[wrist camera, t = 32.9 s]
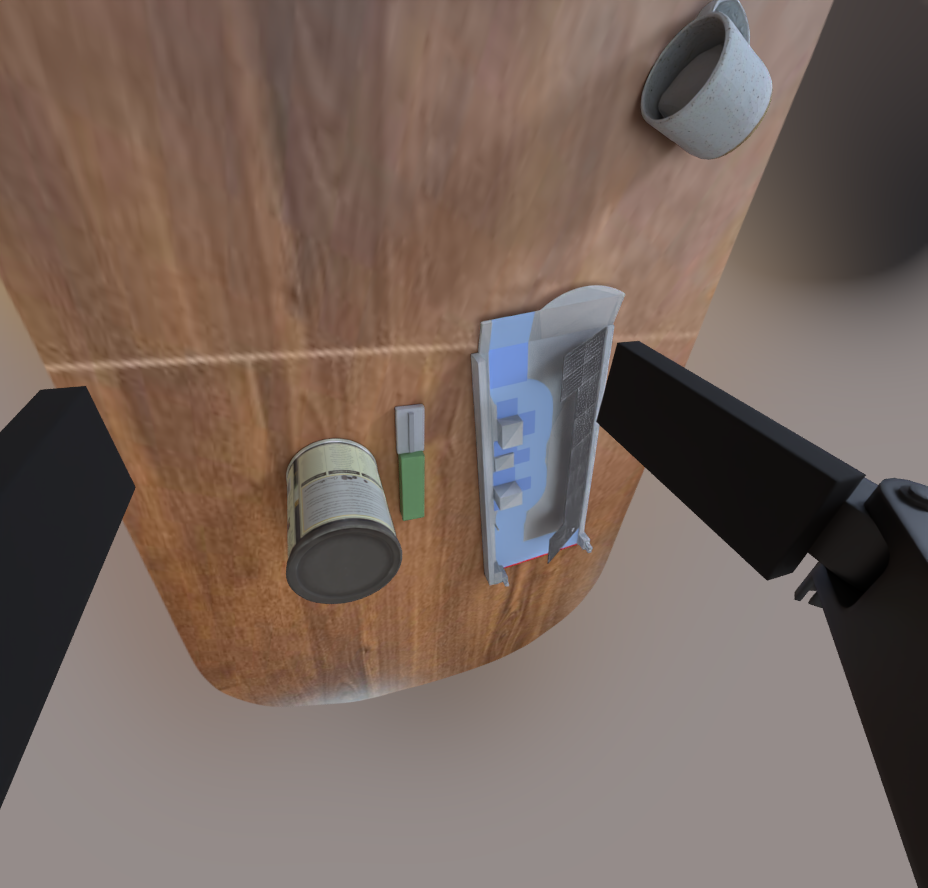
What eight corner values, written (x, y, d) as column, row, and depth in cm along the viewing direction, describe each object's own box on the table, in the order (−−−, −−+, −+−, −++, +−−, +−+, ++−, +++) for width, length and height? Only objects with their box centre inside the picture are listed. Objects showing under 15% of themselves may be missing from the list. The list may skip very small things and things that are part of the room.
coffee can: (389, 488, 54) (415, 577, 43) (309, 519, 53) (315, 619, 42) (360, 424, 48) (382, 509, 37) (268, 457, 46) (263, 556, 36)
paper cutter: (484, 573, 71) (497, 602, 67) (467, 302, 44) (487, 320, 40) (582, 541, 75) (600, 566, 70) (621, 274, 48) (654, 288, 44)
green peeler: (422, 507, 58) (425, 516, 57) (398, 512, 57) (401, 521, 56) (422, 403, 49) (426, 411, 48) (394, 406, 48) (397, 414, 47)
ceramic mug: (682, 164, 43) (746, 167, 37) (624, 124, 39) (686, 121, 33) (750, 32, 38) (836, 11, 32) (693, -27, 35) (778, -63, 29)
